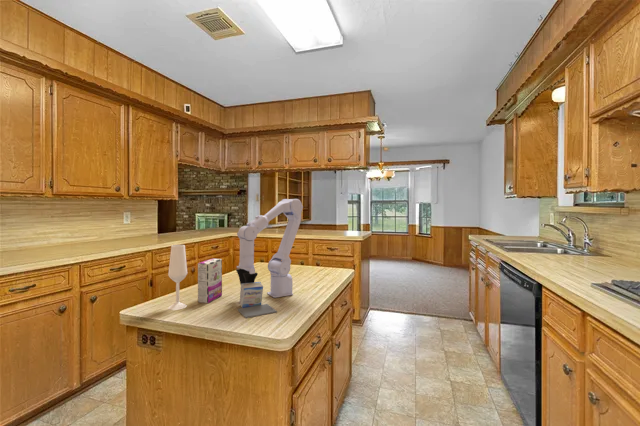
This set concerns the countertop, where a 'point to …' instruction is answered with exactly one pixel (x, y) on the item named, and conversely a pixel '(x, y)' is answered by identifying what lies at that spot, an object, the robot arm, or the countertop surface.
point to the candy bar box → (209, 280)
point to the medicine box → (251, 294)
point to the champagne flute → (177, 271)
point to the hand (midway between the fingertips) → (246, 287)
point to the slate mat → (256, 310)
